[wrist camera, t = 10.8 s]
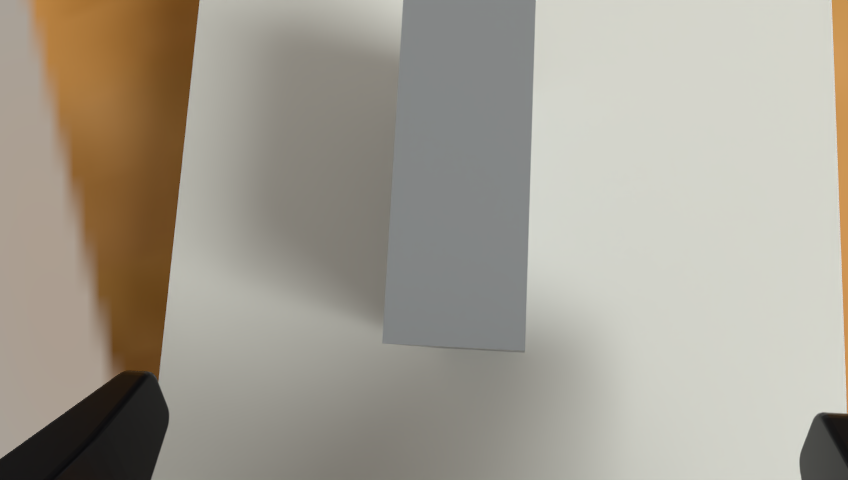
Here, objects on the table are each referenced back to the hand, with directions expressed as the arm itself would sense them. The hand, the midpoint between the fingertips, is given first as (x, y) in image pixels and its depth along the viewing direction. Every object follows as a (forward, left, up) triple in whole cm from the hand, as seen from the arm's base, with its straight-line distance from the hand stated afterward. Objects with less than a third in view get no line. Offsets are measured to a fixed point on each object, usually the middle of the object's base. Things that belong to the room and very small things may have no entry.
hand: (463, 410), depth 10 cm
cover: (+3, 0, -9) cm, 10 cm away
